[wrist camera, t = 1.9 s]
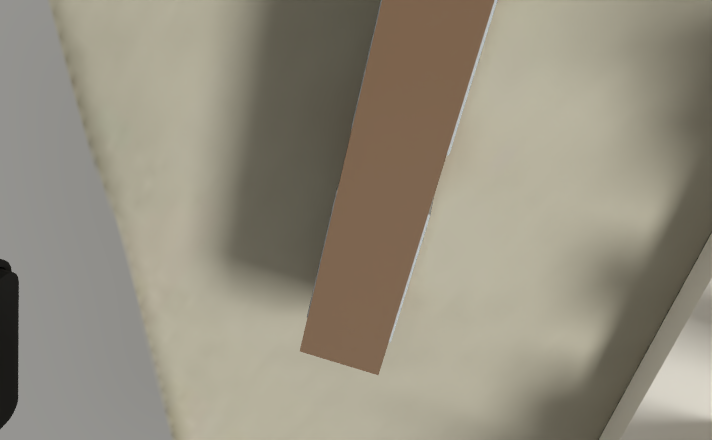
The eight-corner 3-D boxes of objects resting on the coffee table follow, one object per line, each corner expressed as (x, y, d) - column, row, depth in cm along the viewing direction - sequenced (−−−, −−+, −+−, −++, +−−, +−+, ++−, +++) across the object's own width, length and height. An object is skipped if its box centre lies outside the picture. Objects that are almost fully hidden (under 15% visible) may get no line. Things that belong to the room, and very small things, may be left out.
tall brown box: (416, -89, 20) (398, -91, 16) (511, -65, 20) (517, -61, 16) (325, 284, 26) (297, 350, 22) (397, 305, 26) (381, 375, 22)
